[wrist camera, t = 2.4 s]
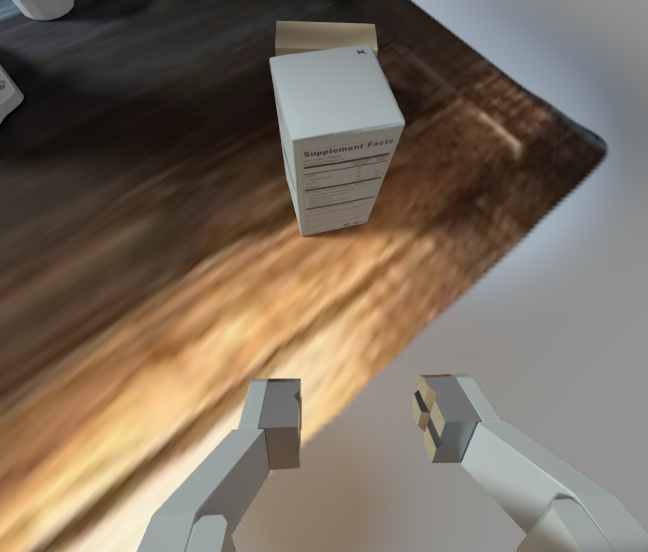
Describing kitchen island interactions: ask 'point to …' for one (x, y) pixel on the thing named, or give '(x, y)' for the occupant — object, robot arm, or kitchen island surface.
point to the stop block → (321, 36)
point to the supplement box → (334, 133)
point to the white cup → (44, 8)
